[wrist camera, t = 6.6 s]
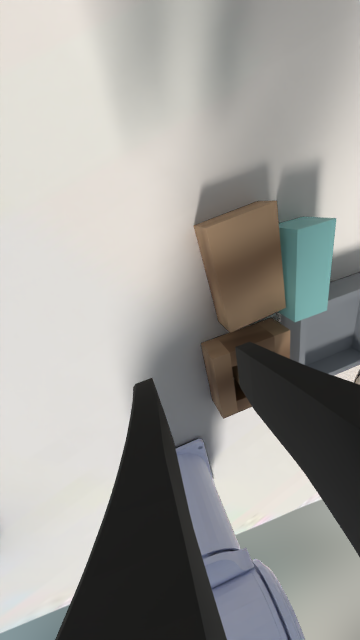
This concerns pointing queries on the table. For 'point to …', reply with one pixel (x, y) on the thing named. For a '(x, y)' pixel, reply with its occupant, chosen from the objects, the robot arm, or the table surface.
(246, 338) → the socket
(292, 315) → the teal rectangular block
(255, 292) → the tan wooden slab
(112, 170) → the table surface
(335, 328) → the tray
